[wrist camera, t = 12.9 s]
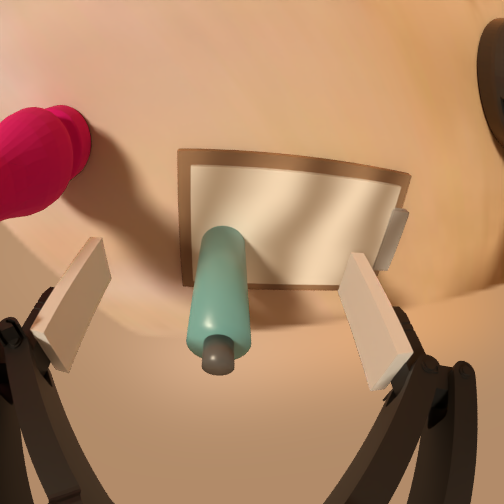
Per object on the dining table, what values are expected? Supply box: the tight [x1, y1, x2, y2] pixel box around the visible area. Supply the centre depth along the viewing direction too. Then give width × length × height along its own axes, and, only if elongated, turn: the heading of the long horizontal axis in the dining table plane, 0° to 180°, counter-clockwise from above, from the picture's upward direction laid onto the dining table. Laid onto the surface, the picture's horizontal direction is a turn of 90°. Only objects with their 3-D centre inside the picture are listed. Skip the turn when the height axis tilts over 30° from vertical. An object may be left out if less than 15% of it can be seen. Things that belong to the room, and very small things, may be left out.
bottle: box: [186, 226, 251, 375], centre depth 18 cm, size 3×3×11 cm
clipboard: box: [177, 149, 411, 290], centre depth 22 cm, size 18×12×1 cm, turn 85°
